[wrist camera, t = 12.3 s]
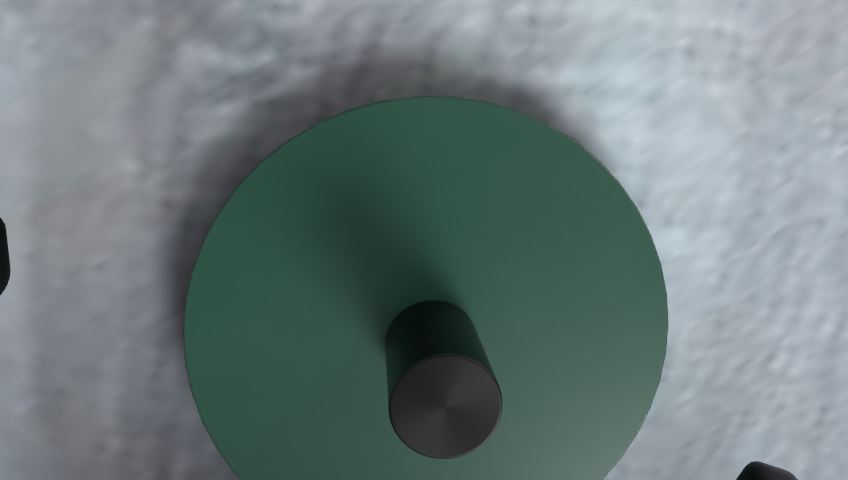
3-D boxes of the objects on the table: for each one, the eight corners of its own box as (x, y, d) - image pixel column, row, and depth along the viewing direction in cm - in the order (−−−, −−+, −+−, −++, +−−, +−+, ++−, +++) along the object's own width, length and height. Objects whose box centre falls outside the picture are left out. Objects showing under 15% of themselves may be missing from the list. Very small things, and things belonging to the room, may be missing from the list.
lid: (369, 609, 23) (369, 754, 18) (92, 274, 20) (2, 339, 15) (732, 380, 22) (835, 468, 17) (499, -6, 19) (544, -34, 14)
